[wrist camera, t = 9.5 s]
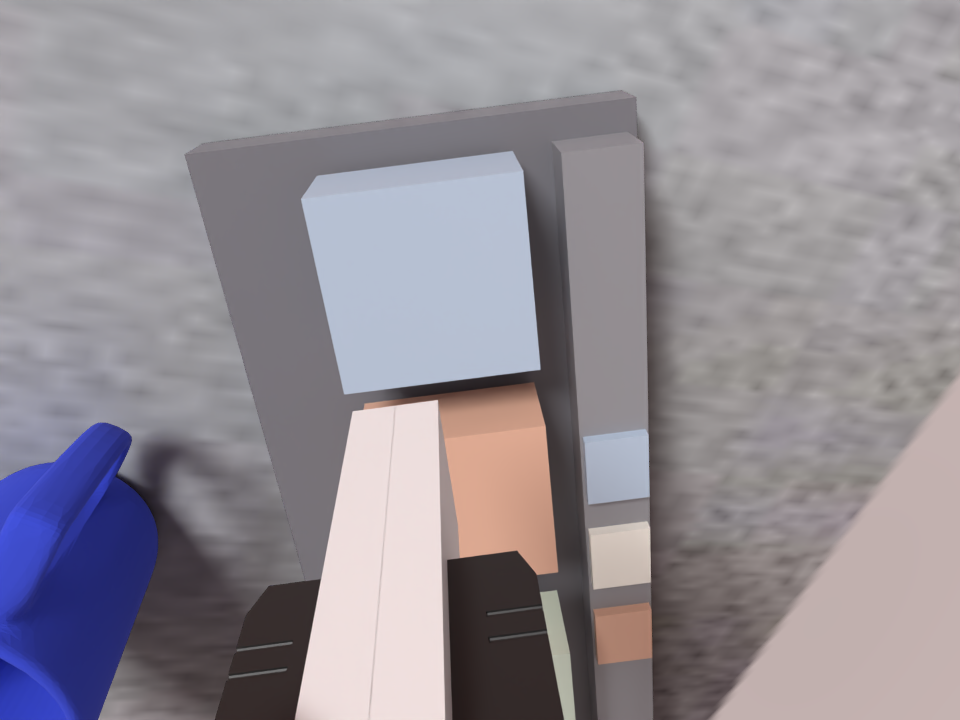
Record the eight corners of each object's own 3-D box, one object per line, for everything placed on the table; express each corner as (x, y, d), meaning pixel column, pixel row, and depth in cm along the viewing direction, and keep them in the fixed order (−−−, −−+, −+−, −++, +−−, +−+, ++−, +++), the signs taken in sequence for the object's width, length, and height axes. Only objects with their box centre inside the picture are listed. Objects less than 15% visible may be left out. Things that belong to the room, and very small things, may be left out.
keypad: (372, 771, 39) (365, 859, 35) (203, 143, 25) (158, 170, 21) (640, 737, 39) (663, 821, 35) (621, 90, 25) (657, 107, 21)
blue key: (353, 352, 25) (344, 394, 22) (316, 175, 23) (301, 199, 20) (529, 330, 25) (540, 369, 22) (512, 150, 23) (523, 170, 20)
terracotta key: (392, 538, 29) (388, 593, 26) (364, 403, 26) (356, 449, 23) (546, 518, 29) (558, 572, 26) (534, 382, 26) (545, 425, 23)
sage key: (422, 718, 31) (421, 787, 28) (399, 610, 28) (395, 675, 25) (566, 700, 31) (579, 767, 28) (556, 590, 28) (569, 652, 25)
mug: (253, 417, 29) (172, 601, 20) (142, 619, 33) (34, 848, 24) (42, 320, 27) (-154, 479, 18) (-49, 550, 31) (-245, 773, 22)
